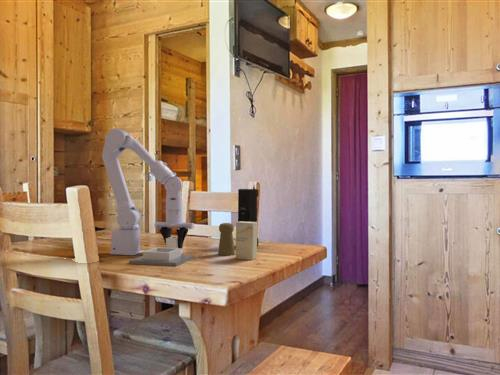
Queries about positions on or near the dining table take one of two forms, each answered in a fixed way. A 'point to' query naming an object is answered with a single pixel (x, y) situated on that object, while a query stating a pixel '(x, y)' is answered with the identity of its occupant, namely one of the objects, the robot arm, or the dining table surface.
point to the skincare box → (246, 240)
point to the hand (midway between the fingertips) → (174, 248)
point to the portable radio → (247, 205)
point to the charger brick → (172, 242)
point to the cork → (226, 240)
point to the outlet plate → (162, 257)
